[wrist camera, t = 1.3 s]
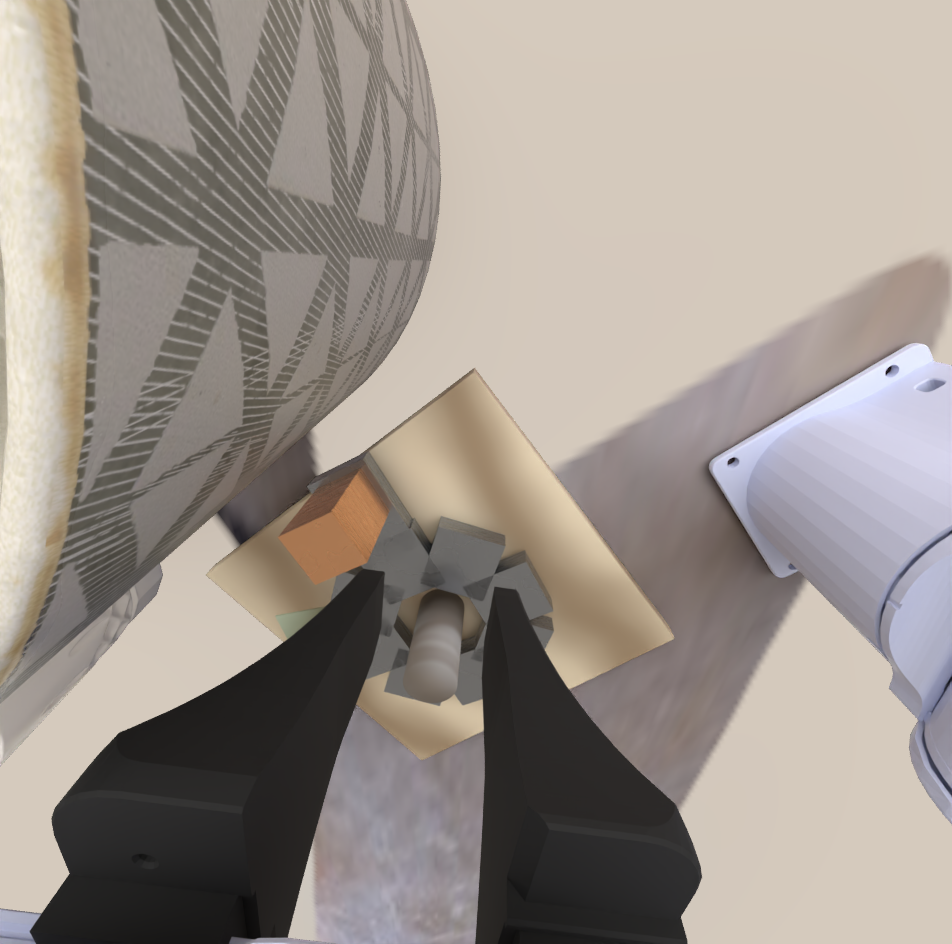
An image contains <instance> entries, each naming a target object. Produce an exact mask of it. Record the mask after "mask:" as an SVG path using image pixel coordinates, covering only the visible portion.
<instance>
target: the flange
mask: <svg viewBox="0 0 952 944" xmlns="http://www.w3.org/2000/svg"><path fill="white" fill-rule="evenodd" d="M307 487H308V489H309V490H310V492H311V493H312V495H311V496H310V498H309V499H308V500H307V501H306V503H305V504H304V505H303V506H302V508H301V509H300V510H299V511H298V513H297V514H296V515H295V516H294V518H293V519H292V520H291V521H290V522H289V524H288V525H287V526H286V527H285V529H284V530H283V531H282V532H281V534H280V535H279V536H278V538H279V540H280V541H281V542H282V543H283V545H284V546H285V547H286V549H287V550H288V551H289V552H290V554H291V555H292V556H293V557H294V559H295V560H296V561H297V563H298V564H299V565H300V566H301V568H302V569H303V570H304V571H305V573H306V574H307V575H308V577H309V578H310V579H311V580H312V582H313V583H314V584H315V585H317V584H319V583H321V582H324V581H326V580H328V579H330V578H333V577H335V576H336V580H335V584H334V588H333V593H332V597H331V601H332V600H333V599H334V598H335V597H336V596H337V595H338V594H339V593H340V592H341V591H342V590H343V589H344V587H345V586H346V585H347V584H348V583H349V582H350V581H351V580H352V579H353V578H354V577H355V576H356V575H357V573H358V572H359V571H361V570H362V569H369V570H377V571H384V572H385V578H384V594H383V609H382V624H381V631H380V635H379V639H378V642H377V646H376V650H375V654H374V657H373V661H372V664H371V667H370V669H369V672H368V675H367V677H366V679H369V678H372V677H375V676H377V675H380V674H383V673H386V672H388V671H390V672H389V675H388V678H387V682H386V685H385V689H384V692H387V693H391V694H394V695H398V696H402V697H406V698H410V699H414V700H417V699H415V698H413V697H412V696H410V695H409V694H408V693H407V692H406V690H405V688H404V686H403V677H404V673H405V668H406V664H407V659H408V655H409V651H410V646H411V642H412V637H413V635H412V634H411V632H410V631H409V629H408V628H407V627H406V625H405V624H404V622H403V621H402V620H401V618H400V617H399V616H398V611H399V608H400V605H401V602H402V600H404V599H407V598H409V597H412V596H414V595H417V594H419V593H422V592H424V591H427V590H429V589H432V588H437V589H440V590H444V591H447V592H451V593H454V594H458V595H462V596H465V597H469V598H470V600H471V601H472V603H473V604H474V606H475V608H476V609H477V611H478V612H479V614H480V615H481V617H482V619H483V620H482V622H481V624H480V627H479V629H478V632H477V634H476V636H473V637H470V638H468V639H465V640H462V641H461V651H460V662H459V672H458V683H457V689H456V692H455V693H454V694H455V696H456V697H457V699H458V700H459V701H460V703H461V704H462V705H466V704H469V703H472V702H475V701H478V700H481V699H483V697H482V665H483V650H484V640H485V634H486V629H487V624H488V618H489V613H490V608H491V602H492V597H493V592H494V587H501V588H509V589H516V590H517V591H518V593H519V595H520V598H521V600H522V603H523V606H524V608H525V611H526V613H527V615H528V617H529V620H530V622H531V624H532V626H533V628H534V630H535V632H536V634H537V636H538V638H539V640H540V642H541V644H542V646H543V648H544V650H545V648H546V646H547V644H548V642H549V640H550V638H551V636H552V634H553V632H554V628H553V622H552V618H551V617H548V616H544V615H545V614H547V613H550V612H553V605H552V599H551V596H550V595H549V593H548V591H547V589H546V587H545V586H544V584H543V582H542V580H541V578H540V577H539V575H538V573H537V571H536V569H535V567H534V566H533V564H532V562H531V560H530V558H529V557H528V555H527V553H526V551H525V550H524V551H521V552H519V553H516V554H514V555H512V556H509V557H507V558H504V559H502V560H500V559H501V556H502V554H503V551H504V549H505V547H506V544H505V535H503V534H500V533H497V532H493V531H490V530H487V529H483V528H480V527H477V526H473V525H470V524H466V523H463V522H460V521H456V520H453V519H450V518H446V517H443V516H441V518H440V521H439V524H438V527H437V530H436V533H435V536H434V539H433V542H432V544H431V542H430V541H429V539H428V538H427V536H426V535H425V533H424V531H423V530H422V528H421V527H420V525H419V524H418V522H417V521H416V519H415V517H414V518H412V517H411V516H410V514H409V512H408V511H407V509H406V508H405V506H404V505H403V503H402V502H401V500H400V498H399V497H398V495H397V494H396V492H395V491H394V489H393V488H392V486H391V484H390V483H389V481H388V480H387V478H386V477H385V475H384V474H383V472H382V470H381V469H380V467H379V466H378V464H377V463H376V461H375V460H374V458H373V456H372V455H371V453H370V452H369V451H367V452H365V453H363V454H361V455H359V456H357V457H355V458H353V459H351V460H349V461H347V462H345V463H343V464H341V465H339V466H337V467H335V468H333V469H331V470H329V471H327V472H325V473H322V474H320V475H318V476H316V477H315V478H314V479H313V480H312V481H311V482H310V484H309V485H308V486H307ZM418 701H419V700H418ZM421 702H422V701H421ZM425 703H426V702H425ZM429 704H433V705H437V706H440V705H441V702H439V703H429Z"/></svg>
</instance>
